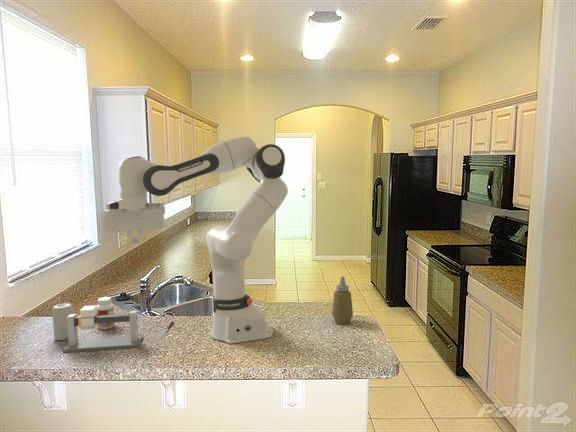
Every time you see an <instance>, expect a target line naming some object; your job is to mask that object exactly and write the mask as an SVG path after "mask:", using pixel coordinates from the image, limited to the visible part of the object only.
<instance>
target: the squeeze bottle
mask: <svg viewBox="0 0 576 432" xmlns="http://www.w3.org/2000/svg"><path fill="white" fill-rule="evenodd" d="M345 279H346V278H345V276H344V275H343V276H342V275H341V276H340V280H339V284H337V285H336V290H335V291H334V292H333V300H332V310H331V315H332V318H333V319H334V320H333V321H334V323H335V324H337V325H349V324H350V323H351V321H352V318H353V314H354V311H353V301H352V300H353V299H352V293H351V291H350V290H349V288H350V287H349V285H347V283H346V280H345Z"/></svg>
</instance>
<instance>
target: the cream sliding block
mask: <svg viewBox="0 0 576 432" xmlns="http://www.w3.org/2000/svg"><path fill="white" fill-rule="evenodd" d="M79 315H80V319H81V327H80V330H81V331H86V330H89V331H90V330H95V328H96V327H97V325H98V323H97V324H94V317H95V316H97V305H84V306H83V307H82V308H81V309H80V310H79Z"/></svg>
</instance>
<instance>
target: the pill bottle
mask: <svg viewBox="0 0 576 432" xmlns="http://www.w3.org/2000/svg"><path fill="white" fill-rule="evenodd" d="M97 303H98V304H97V305H96V306H97V316H103V315H115V309H114V308H115V307H114V304H113V303H112V297H111V296H103V297H99V298H98V299H97ZM114 326H115V322H113V323H98V325H97V326H96V327H97V329H99V330H108V329H111V328H113V327H114Z"/></svg>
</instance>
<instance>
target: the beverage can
mask: <svg viewBox="0 0 576 432" xmlns="http://www.w3.org/2000/svg"><path fill="white" fill-rule="evenodd" d="M52 307H53V308H52V310H51V311H52V312H51V313H52V314H51V315H52V327H53V338H54V339H55V340H57V341H60V340H62V341H67V340H66V339H68V326H67V317H68V316H69V315H70V314H74V313H73V312H74V311H73V306H72V304H71V303H66V302H65V303H58V304H55V305H54V306H52Z"/></svg>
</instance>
